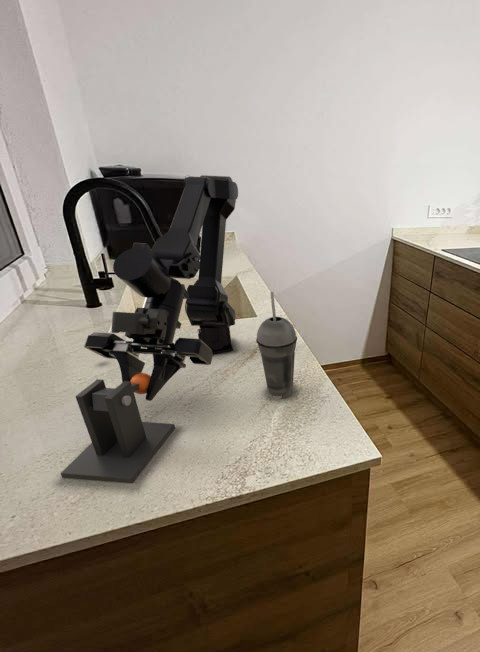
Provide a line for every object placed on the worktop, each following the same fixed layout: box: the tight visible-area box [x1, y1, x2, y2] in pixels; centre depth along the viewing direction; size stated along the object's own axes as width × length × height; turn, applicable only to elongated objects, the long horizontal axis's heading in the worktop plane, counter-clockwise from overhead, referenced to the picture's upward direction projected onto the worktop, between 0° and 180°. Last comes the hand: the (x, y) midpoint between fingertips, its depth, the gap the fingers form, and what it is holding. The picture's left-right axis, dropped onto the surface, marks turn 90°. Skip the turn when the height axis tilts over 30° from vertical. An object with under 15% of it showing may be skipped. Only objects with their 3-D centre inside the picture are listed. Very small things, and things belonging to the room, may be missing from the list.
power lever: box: [92, 372, 151, 411], centre depth 58 cm, size 11×3×3 cm, turn 176°
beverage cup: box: [255, 291, 298, 400], centre depth 70 cm, size 7×7×20 cm
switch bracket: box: [60, 378, 176, 484], centre depth 56 cm, size 12×10×12 cm
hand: (137, 399), depth 61 cm, fingers closed on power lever, 3 cm apart
